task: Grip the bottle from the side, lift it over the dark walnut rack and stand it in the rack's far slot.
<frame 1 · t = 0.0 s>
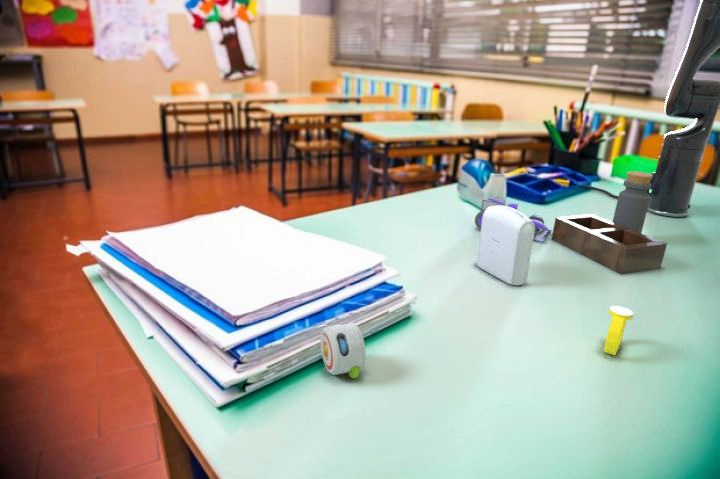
roller toy: (341, 369, 60), on the table
photo printer: (499, 275, 88), on the table
bottle: (623, 242, 107), on the table
rack: (602, 252, 100), on the table
toy race car: (512, 231, 110), on the table
white topped yellow dowel: (611, 351, 66), on the table
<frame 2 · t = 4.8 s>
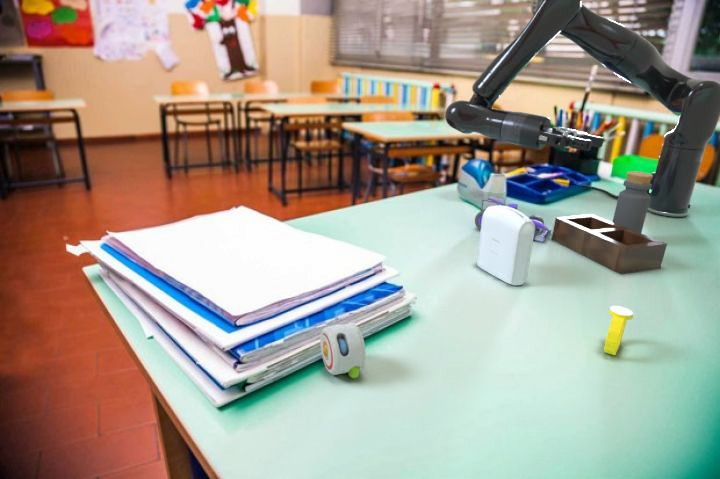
hand: (596, 144, 106), 20 cm above the table, tool horizontal, fingers open, 8 cm apart
nothing on the table moved.
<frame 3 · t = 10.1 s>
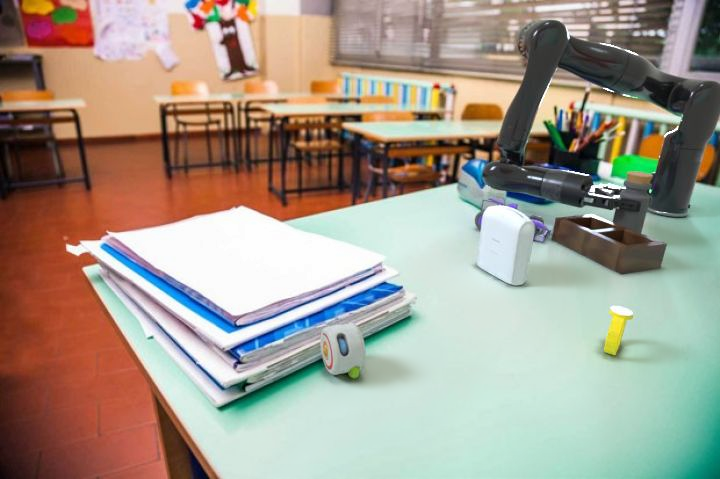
hand: (645, 204, 102), 9 cm above the table, tool horizontal, fingers closed on bottle, 6 cm apart
bottle: (623, 242, 107), on the table, touching gripper
everything else where it was.
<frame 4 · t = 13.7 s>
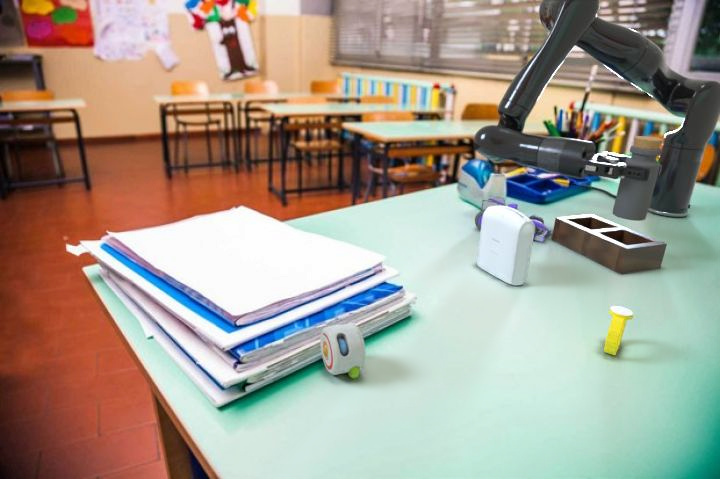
hand: (654, 172, 90), 18 cm above the table, tool horizontal, fingers closed on bottle, 6 cm apart
bottle: (628, 216, 95), point 8 cm above the table, touching gripper
everything else where it was.
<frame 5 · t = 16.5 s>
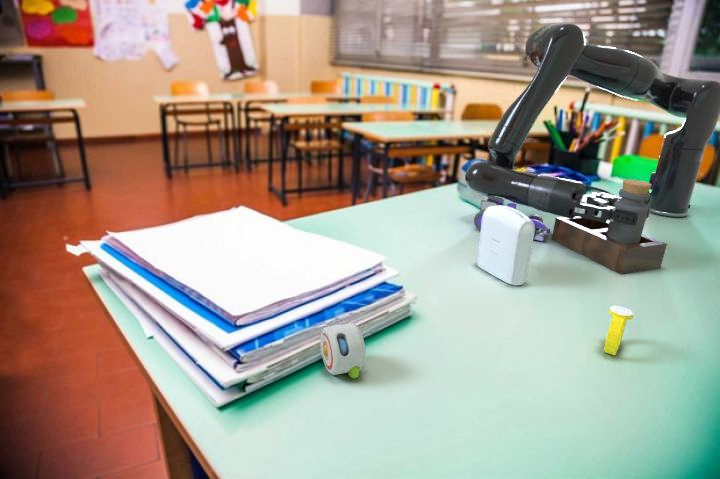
hand: (643, 216, 91), 10 cm above the table, tool horizontal, fingers closed on bottle, 6 cm apart
bottle: (617, 258, 96), point 1 cm above the table, touching gripper
toy race car: (512, 231, 110), on the table, touching arm
everything else where it was.
when the fingers open (10 cm above the table, at t = 17.2 s): bottle stays where it is, resting in rack.
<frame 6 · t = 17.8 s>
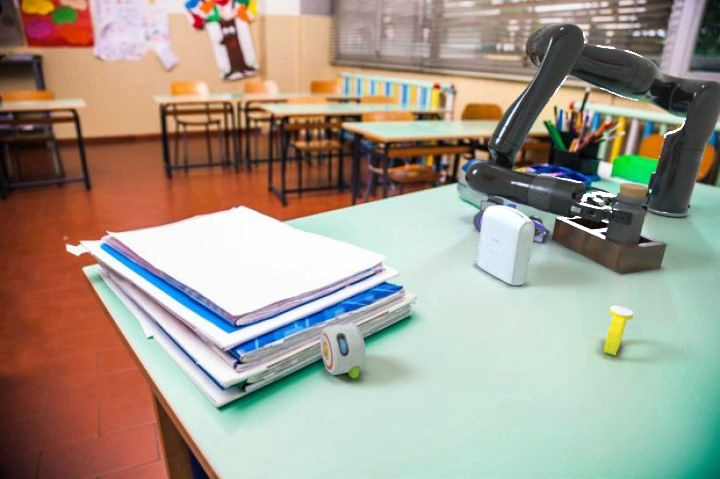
hand: (640, 215, 91), 10 cm above the table, tool horizontal, fingers open, 8 cm apart
bottle: (616, 261, 96), resting in rack
everything else where it was.
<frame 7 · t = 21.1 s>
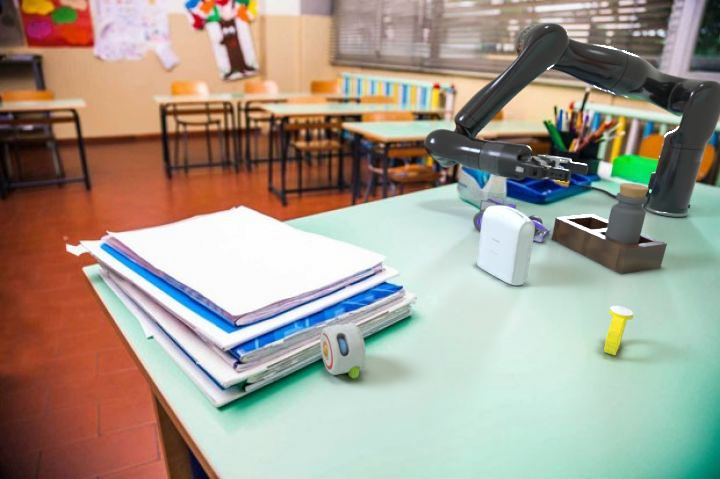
hand: (578, 173, 98), 15 cm above the table, tool horizontal, fingers open, 8 cm apart
toy race car: (511, 232, 110), on the table
everything else where it was.
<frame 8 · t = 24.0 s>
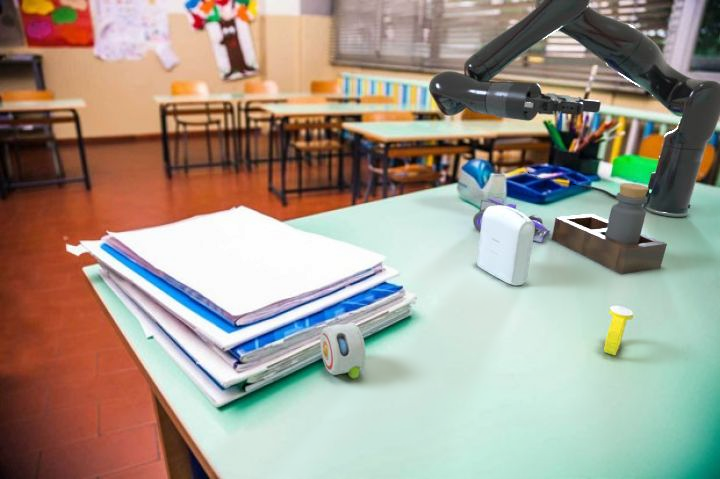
hand: (591, 108, 93), 28 cm above the table, tool horizontal, fingers open, 8 cm apart
nothing on the table moved.
at the end: bottle 0.6 cm from the target spot in the rack, point 0.0 cm above the rack's base; bottle tilted 0°; the gripper is holding nothing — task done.
